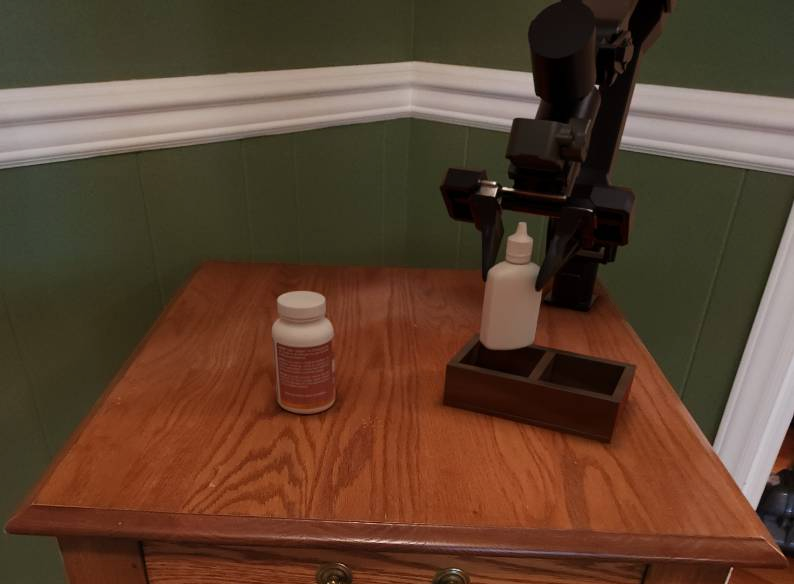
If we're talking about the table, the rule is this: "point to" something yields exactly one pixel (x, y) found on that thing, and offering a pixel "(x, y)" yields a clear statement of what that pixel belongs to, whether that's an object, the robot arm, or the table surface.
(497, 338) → the eye dropper bottle
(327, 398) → the pill bottle
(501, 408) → the box
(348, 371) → the table surface
